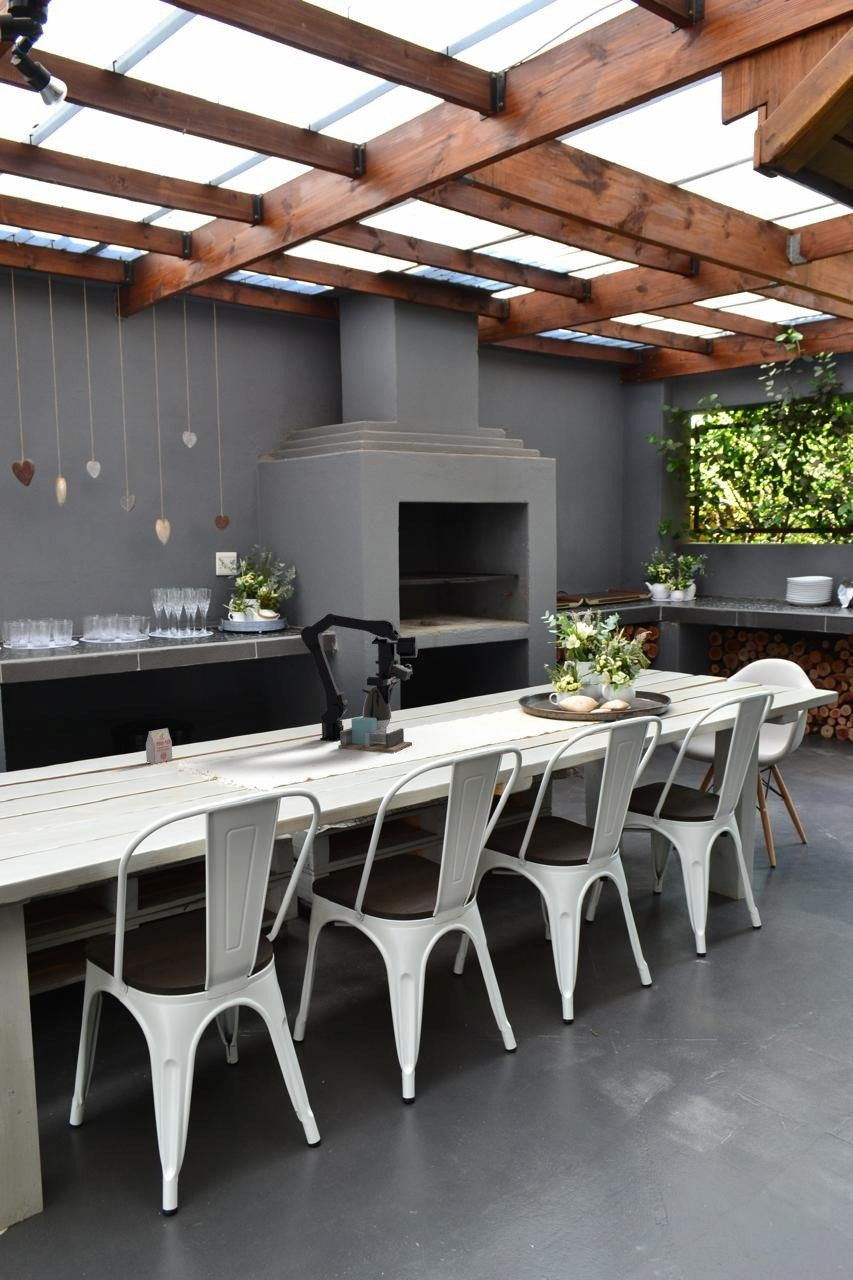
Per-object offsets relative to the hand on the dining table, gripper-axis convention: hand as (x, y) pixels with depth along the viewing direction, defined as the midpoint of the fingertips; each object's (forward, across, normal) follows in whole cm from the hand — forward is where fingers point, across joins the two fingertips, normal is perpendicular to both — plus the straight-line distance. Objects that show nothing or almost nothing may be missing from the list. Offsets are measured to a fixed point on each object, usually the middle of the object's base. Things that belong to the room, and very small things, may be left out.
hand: (387, 703), depth 339 cm
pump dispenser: (+12, +17, +13) cm, 25 cm away
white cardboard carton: (+12, -56, +50) cm, 76 cm away
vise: (+12, -13, -2) cm, 18 cm away
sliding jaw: (+11, -13, -6) cm, 18 cm away
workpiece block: (+11, -13, +2) cm, 17 cm away
